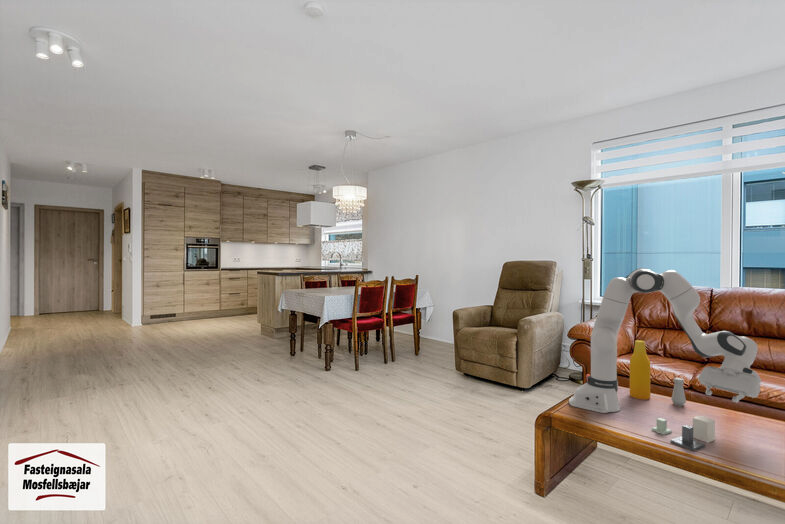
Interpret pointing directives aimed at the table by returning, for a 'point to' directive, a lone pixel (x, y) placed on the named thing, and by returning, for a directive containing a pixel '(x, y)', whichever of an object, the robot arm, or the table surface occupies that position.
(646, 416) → the table surface
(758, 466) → the table surface
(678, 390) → the salt shaker
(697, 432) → the white rectangular block
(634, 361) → the beer bottle
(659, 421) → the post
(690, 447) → the post
